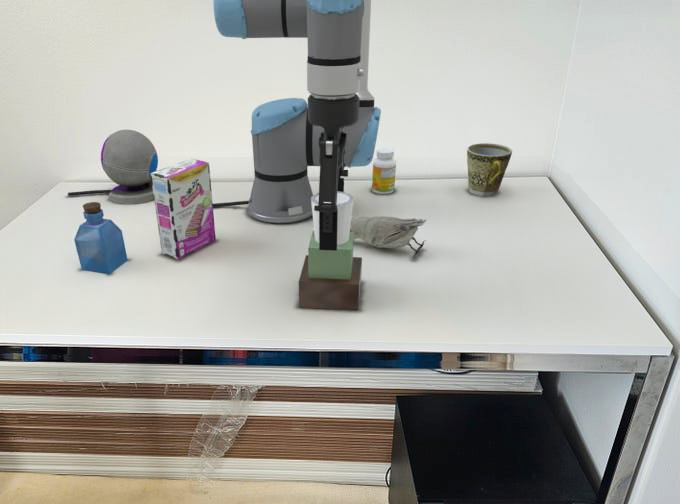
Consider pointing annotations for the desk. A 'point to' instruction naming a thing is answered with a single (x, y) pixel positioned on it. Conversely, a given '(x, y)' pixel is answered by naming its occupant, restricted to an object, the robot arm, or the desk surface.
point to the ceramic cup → (486, 167)
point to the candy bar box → (184, 207)
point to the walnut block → (330, 289)
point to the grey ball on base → (129, 166)
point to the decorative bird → (386, 231)
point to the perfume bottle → (99, 242)
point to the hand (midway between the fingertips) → (331, 231)
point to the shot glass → (344, 216)
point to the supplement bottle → (384, 171)
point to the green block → (331, 260)
